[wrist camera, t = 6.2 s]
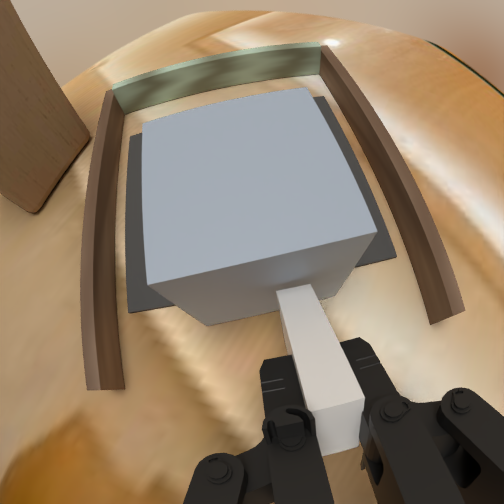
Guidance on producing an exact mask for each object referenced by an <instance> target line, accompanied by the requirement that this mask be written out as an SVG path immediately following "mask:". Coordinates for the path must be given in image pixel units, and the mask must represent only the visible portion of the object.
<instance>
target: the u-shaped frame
mask: <svg viewBox="0 0 504 504" xmlns="http://www.w3.org/2000/svg"><path fill="white" fill-rule="evenodd" d="M313 74H320V76H321V77H322V79H323V80H324V82H325V84H326V85H327V87H328V88H329V90H330V92H331V93H332V95H333V97H334V98H335V100H336V102H337V103H338V105H339V107H340V109H341V110H342V112H343V114H344V116H345V117H346V119H347V121H348V123H349V124H350V126H351V128H352V130H353V132H354V134H355V136H356V137H357V139H358V141H359V143H360V145H361V147H362V149H363V151H364V153H365V155H366V157H367V159H368V161H369V163H370V165H371V167H372V169H373V171H374V173H375V175H376V177H377V180H378V182H379V184H380V186H381V188H382V191H383V193H384V195H385V197H386V200H387V202H388V204H389V206H390V209H391V211H392V214H393V216H394V218H395V221H396V223H397V226H398V228H399V231H400V233H401V236H402V239H403V241H404V244H405V247H406V249H407V252H408V255H409V258H410V260H411V263H412V266H413V269H414V272H415V275H416V278H417V281H418V284H419V287H420V290H421V294H422V297H423V300H424V304H425V307H426V311H427V314H428V318H429V321H430V325H431V324H434V323H436V322H439V321H441V320H444V319H446V318H449V317H451V316H454V315H456V314H458V313H461V312H463V311H465V307H464V304H463V300H462V297H461V294H460V291H459V287H458V284H457V281H456V278H455V275H454V272H453V269H452V267H451V264H450V261H449V258H448V256H447V253H446V250H445V248H444V245H443V243H442V240H441V238H440V235H439V233H438V230H437V228H436V225H435V223H434V221H433V219H432V216H431V214H430V212H429V210H428V207H427V205H426V203H425V201H424V199H423V197H422V194H421V192H420V190H419V188H418V186H417V184H416V182H415V180H414V178H413V176H412V174H411V172H410V171H409V169H408V167H407V165H406V163H405V161H404V159H403V157H402V156H401V154H400V152H399V150H398V148H397V147H396V145H395V143H394V142H393V140H392V138H391V136H390V135H389V133H388V131H387V130H386V128H385V126H384V125H383V123H382V122H381V120H380V118H379V117H378V115H377V114H376V112H375V111H374V109H373V107H372V106H371V104H370V103H369V101H368V100H367V98H366V97H365V96H364V94H363V93H362V91H361V90H360V88H359V87H358V85H357V84H356V83H355V81H354V80H353V78H352V77H351V76H350V74H349V73H348V72H347V70H346V69H345V68H344V66H343V65H342V64H341V62H340V61H339V60H338V59H337V57H336V56H335V55H334V54H333V52H332V51H331V50H330V49H329V47H328V46H321V45H320V44H319V43H318V42H307V43H294V44H283V45H274V46H265V47H258V48H251V49H245V50H239V51H233V52H227V53H222V54H217V55H212V56H208V57H203V58H199V59H194V60H190V61H186V62H182V63H179V64H175V65H171V66H168V67H164V68H161V69H157V70H154V71H151V72H148V73H144V74H141V75H138V76H135V77H132V78H129V79H127V80H124V81H121V82H118V83H116V84H113V88H112V89H111V90H108V91H106V94H105V98H104V102H103V106H102V110H101V114H100V118H99V123H98V127H97V132H96V137H95V142H94V147H93V153H92V158H91V164H90V171H89V177H88V184H87V192H86V200H85V210H84V220H83V232H82V248H81V277H80V301H81V330H82V346H83V358H84V368H85V377H86V385H87V390H118V389H125V386H124V379H123V371H122V363H121V355H120V346H119V335H118V323H117V308H116V288H115V214H116V194H117V179H118V167H119V156H120V147H121V139H122V131H123V123H124V116H125V114H128V113H131V112H134V111H137V110H140V109H143V108H146V107H149V106H153V105H156V104H159V103H163V102H166V101H170V100H173V99H177V98H181V97H185V96H189V95H193V94H197V93H201V92H205V91H210V90H214V89H219V88H224V87H229V86H234V85H239V84H245V83H251V82H257V81H263V80H270V79H277V78H285V77H293V76H303V75H313Z"/></svg>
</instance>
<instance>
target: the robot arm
mask: <svg viewBox="0 0 504 504" xmlns="http://www.w3.org/2000/svg"><path fill="white" fill-rule="evenodd" d="M276 293H277V299H278V305H279V311H280V317H281V323H282V329H283V335H284V340H285V344H286V348H287V352H288V355H287V356H282V357H277V358H272V359H267V360H264V361H263V364H262V366H261V368H260V379H261V387H262V395H263V403H264V411H265V419H264V421H263V425H262V431H263V434H264V438H263V439H262V441H261V442H260V443H259V444H258V445H257V446H256V447H254V448H252V449H251V450H249V451H246V452H244V453H241V454H239V455H237V456H234V455H231V454H227V453H215V454H212V455H209V456H207V457H205V458H204V459H203V460H201V461H200V462H199V464H198V465H197V467H196V469H195V471H194V474H193V477H192V480H191V482H190V485H189V488H188V491H187V494H186V497H185V500H184V502H183V504H270V503H273V502H274V503H275V504H334V500H333V496H332V493H331V489H330V485H329V481H328V477H327V473H326V470H325V466H324V462H323V458H322V456H326V455H330V454H334V453H338V452H341V451H345V450H348V449H352V448H355V447H358V446H359V440H360V442H361V445H362V447H363V450H364V451H363V456H362V461H361V470H363V469H365V467H366V470H367V473H368V476H369V479H370V482H371V484H372V487H373V490H374V493H375V496H376V499H377V502H378V504H504V416H502V415H501V414H500V413H499V412H498V411H497V410H495V409H494V408H493V407H492V406H491V405H489V404H488V403H487V402H486V401H485V400H483V399H482V398H481V397H480V396H479V395H477V394H476V393H475V392H473V391H472V390H470V389H467V388H462V387H461V388H454V389H452V390H450V391H448V392H447V393H446V394H445V395H444V396H443V398H442V400H441V401H435V402H426V403H415V402H411V401H410V400H409V399H407V398H405V397H403V396H400V394H399V393H398V392H397V390H396V388H395V387H394V385H393V383H392V381H391V380H390V378H389V376H388V374H387V373H386V371H385V369H384V367H383V366H382V364H380V361H379V359H378V357H377V356H376V354H375V352H374V350H373V349H372V347H371V345H370V344H369V343H367V342H366V341H364V340H363V339H361V338H360V337H358V338H355V339H351V340H347V341H343V342H339V341H338V339H337V337H336V335H335V333H334V331H333V329H332V327H331V324H330V322H329V320H328V318H327V316H326V314H325V312H324V310H323V308H322V306H321V304H320V302H319V300H318V298H317V296H316V294H315V292H314V290H313V288H312V286H311V284H307V285H303V286H298V287H293V288H288V289H283V290H278V291H276Z"/></svg>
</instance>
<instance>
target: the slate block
mask: <svg viewBox="0 0 504 504" xmlns="http://www.w3.org/2000/svg"><path fill="white" fill-rule="evenodd" d="M142 213H143V235H144V251H145V264H146V276H147V285H148V286H149V287H151V288H152V289H154V290H155V291H156V292H158V293H159V294H161V295H162V296H163V297H165V298H166V299H168V300H169V301H170V302H172V303H173V304H175V305H176V306H178V307H179V308H181V309H182V310H183V311H185V312H186V313H188V314H189V315H191V316H192V317H194V318H195V319H197V320H198V321H200V322H201V323H203V324H204V325H206V326H210V325H214V324H219V323H224V322H229V321H233V320H238V319H243V318H247V317H252V316H256V315H260V314H265V313H269V312H273V311H278V310H279V305H278V299H277V293H276V291H278V290H283V289H288V288H293V287H298V286H303V285H307V284H311V286H312V288H313V290H314V292H315V294H316V296H317V298H318V300H321V299H325V298H329V297H333V296H335V295H336V293H337V292H338V290H339V289H340V288H341V286H342V285H343V283H344V282H345V280H346V279H347V277H348V276H349V275H350V273H351V272H352V270H353V269H354V267H355V266H356V264H357V263H358V261H359V260H360V258H361V257H362V255H363V253H364V252H365V250H366V249H367V247H368V246H369V244H370V243H371V241H372V239H373V238H374V236H375V235H376V233H377V232H378V231H377V229H376V226H375V224H374V221H373V219H372V217H371V214H370V212H369V210H368V207H367V205H366V203H365V200H364V198H363V196H362V193H361V191H360V189H359V187H358V185H357V182H356V180H355V178H354V176H353V174H352V172H351V170H350V167H349V165H348V163H347V161H346V159H345V157H344V155H343V153H342V151H341V149H340V147H339V145H338V143H337V141H336V139H335V137H334V135H333V134H332V132H331V130H330V128H329V126H328V124H327V122H326V120H325V119H324V117H323V115H322V113H321V111H320V110H319V108H318V106H317V104H316V102H315V101H314V99H313V97H312V96H311V94H310V92H309V90H308V89H307V87H304V88H296V89H289V90H282V91H276V92H269V93H264V94H258V95H252V96H247V97H242V98H237V99H232V100H228V101H223V102H219V103H214V104H210V105H206V106H202V107H198V108H194V109H190V110H187V111H183V112H179V113H176V114H172V115H169V116H165V117H162V118H159V119H155V120H152V121H149V122H146V123H143V128H142Z"/></svg>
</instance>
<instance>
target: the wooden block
mask: <svg viewBox="0 0 504 504" xmlns="http://www.w3.org/2000/svg"><path fill="white" fill-rule="evenodd" d="M89 137H90V134H89V131H88V129H87V128H86V126H85V125H84V123H83V122H82V120H81V119H80V117H79V116H78V114H77V113H76V111H75V110H74V108H73V107H72V105H71V104H70V102H69V100H68V99H67V97H66V96H65V94H64V93H63V91H62V90H61V88H60V86H59V85H58V83H57V82H56V80H55V78H54V77H53V75H52V73H51V72H50V70H49V69H48V67H47V65H46V64H45V62H44V60H43V59H42V57H41V55H40V54H39V52H38V50H37V48H36V47H35V45H34V43H33V42H32V40H31V38H30V36H29V35H28V33H27V31H26V29H25V27H24V26H23V24H22V22H21V20H20V18H19V16H18V14H17V12H16V11H15V9H14V7H13V5H12V3H11V1H10V0H0V193H1V194H2V195H4V196H5V197H7V198H8V199H9V200H11V201H12V202H14V203H15V204H17V205H18V206H20V207H21V208H23V209H24V210H26V211H27V212H37V211H38V210H39V209H40V208H41V206H42V205H43V203H44V202H45V200H46V199H47V197H48V195H49V194H50V192H51V191H52V189H53V188H54V186H55V185H56V183H57V182H58V181H59V179H60V178H61V176H62V175H63V173H64V172H65V171H66V169H67V168H68V166H69V165H70V164H71V162H72V161H73V160H74V158H75V157H76V156H77V154H78V153H79V152H80V151H81V149H82V148H83V147H84V145H85V144H86V143H87V142H88V140H89Z"/></svg>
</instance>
